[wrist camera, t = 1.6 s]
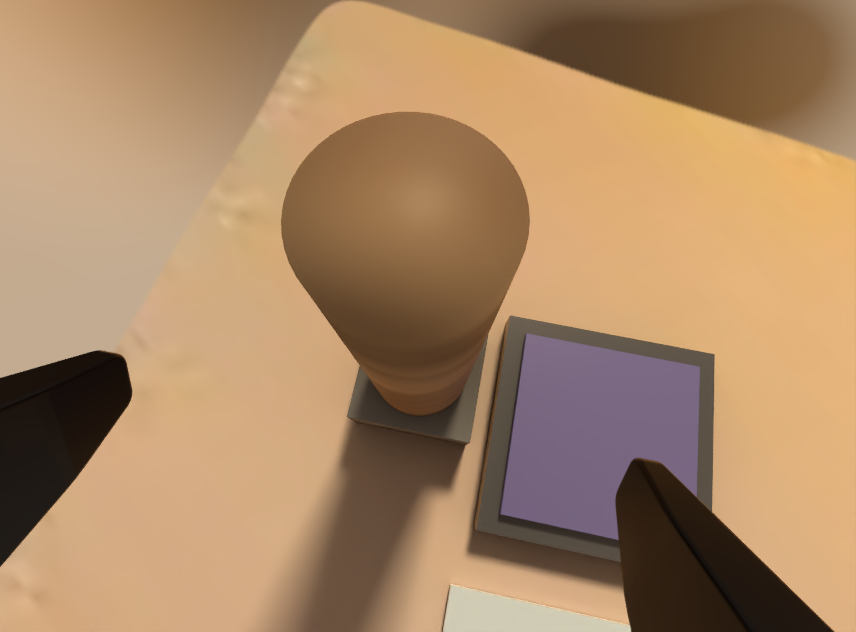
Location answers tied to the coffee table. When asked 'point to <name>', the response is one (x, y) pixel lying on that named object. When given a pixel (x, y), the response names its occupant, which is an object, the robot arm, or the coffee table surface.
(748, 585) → the robot arm
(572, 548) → the ink pad
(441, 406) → the wooden handle on base
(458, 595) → the print card
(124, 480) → the coffee table surface
